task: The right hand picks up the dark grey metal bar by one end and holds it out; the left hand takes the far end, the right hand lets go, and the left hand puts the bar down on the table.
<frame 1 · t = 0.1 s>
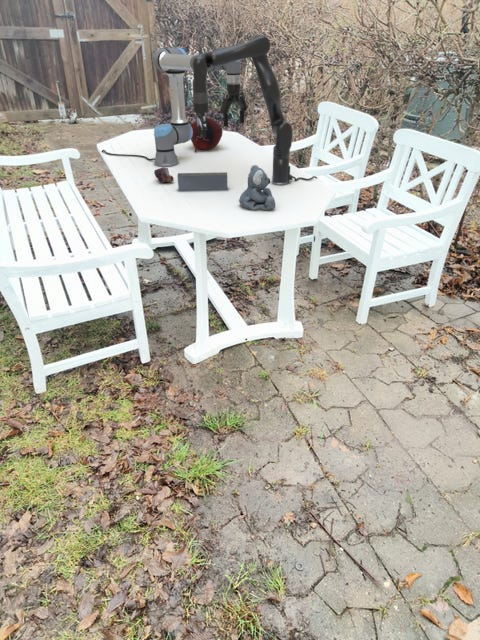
left hand: (234, 124, 259), 28 cm above the table, tool pointing down, fingers open, 13 cm apart
right hand: (202, 135, 233), 29 cm above the table, tool pointing down, fingers open, 8 cm apart
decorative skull: (206, 148, 327), on the table
rock: (164, 182, 263), on the table
koala plush: (256, 206, 229), on the table
bar: (203, 189, 251), on the table
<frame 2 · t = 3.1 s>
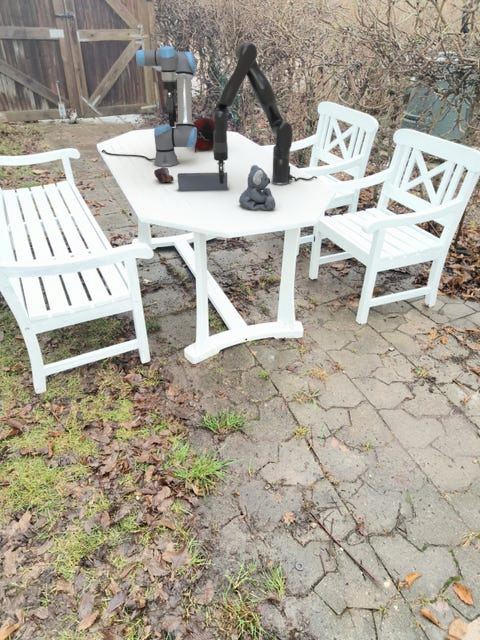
left hand: (173, 124, 248), 31 cm above the table, tool pointing down, fingers open, 13 cm apart
right hand: (221, 182, 249), 4 cm above the table, tool pointing down, fingers closed on bar, 4 cm apart
bar: (203, 189, 251), on the table, touching right hand
everything else where it was.
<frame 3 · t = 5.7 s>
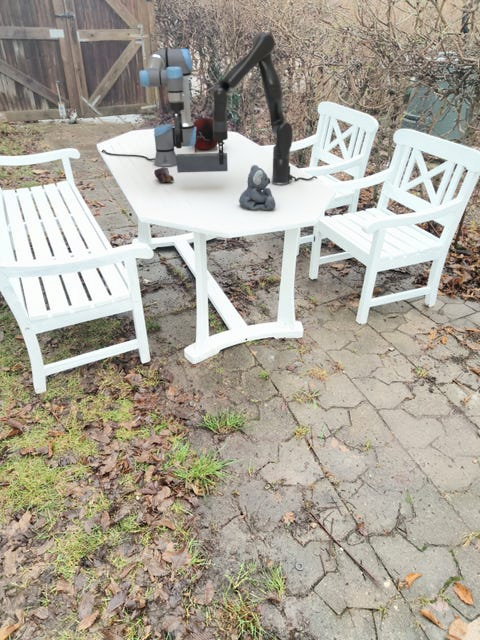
left hand: (179, 145, 240), 23 cm above the table, tool pointing down, fingers open, 13 cm apart
right hand: (221, 162, 244), 14 cm above the table, tool pointing down, fingers closed on bar, 4 cm apart
bar: (202, 170, 246), point 10 cm above the table, touching right hand
everything else where it was.
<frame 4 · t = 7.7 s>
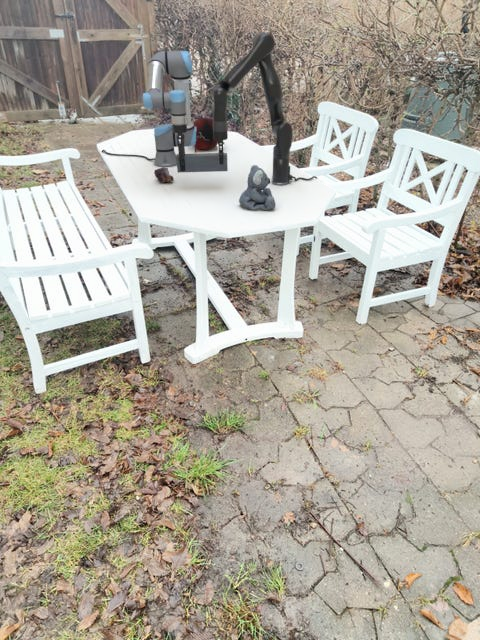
left hand: (183, 169, 245), 11 cm above the table, tool pointing down, fingers closed on bar, 4 cm apart
right hand: (221, 162, 244), 14 cm above the table, tool pointing down, fingers closed on bar, 4 cm apart
bar: (202, 170, 246), point 10 cm above the table, touching left hand, right hand
everything else where it was.
when the right hand's fingers open (14 cm above the table, at t = 8.5 s): bar stays where it is, held by the left hand.
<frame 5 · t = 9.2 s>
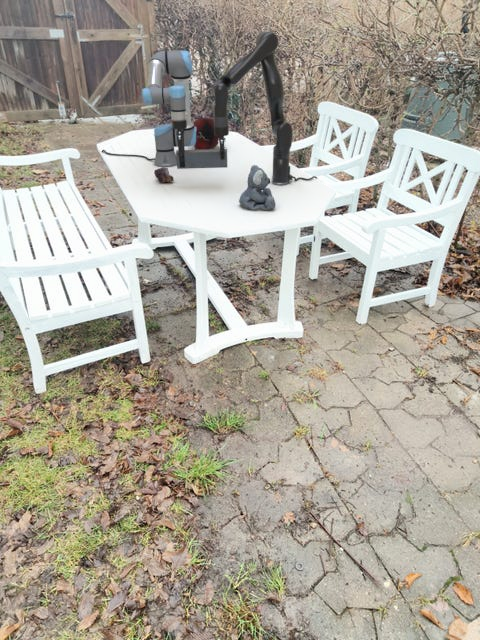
left hand: (182, 165, 244), 13 cm above the table, tool pointing down, fingers closed on bar, 4 cm apart
right hand: (222, 157, 242), 17 cm above the table, tool pointing down, fingers open, 8 cm apart
bar: (202, 166, 245), point 12 cm above the table, touching left hand
everything else where it was.
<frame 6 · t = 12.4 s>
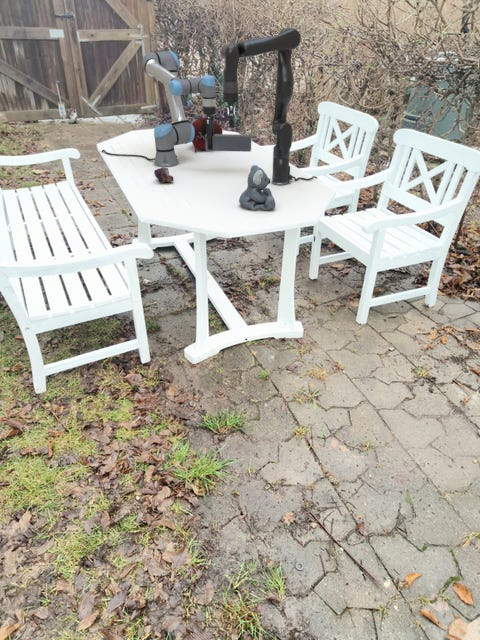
left hand: (211, 148, 271), 14 cm above the table, tool pointing down, fingers closed on bar, 4 cm apart
right hand: (231, 125, 233), 33 cm above the table, tool pointing down, fingers open, 8 cm apart
bar: (228, 150, 271), point 13 cm above the table, touching left hand
everything else where it was.
when the left hand's fingers open (2 cm above the table, at t = 17.2 s): bar drops 1 cm, on the table.
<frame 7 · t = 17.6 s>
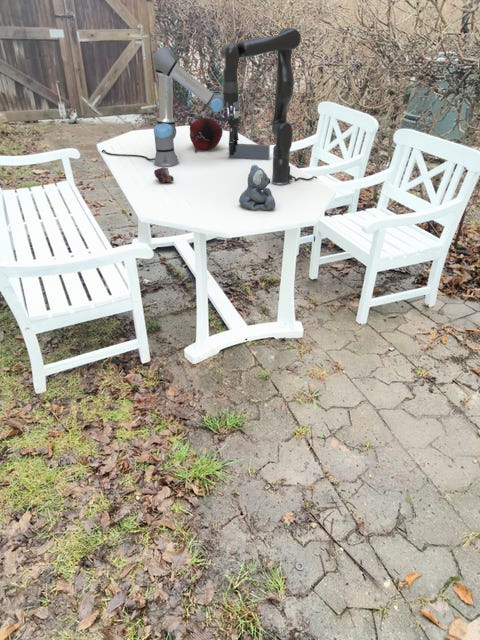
left hand: (233, 152, 304), 3 cm above the table, tool pointing down, fingers open, 10 cm apart
right hand: (231, 125, 233), 33 cm above the table, tool pointing down, fingers open, 8 cm apart
bar: (249, 158, 304), on the table
everything else where it was.
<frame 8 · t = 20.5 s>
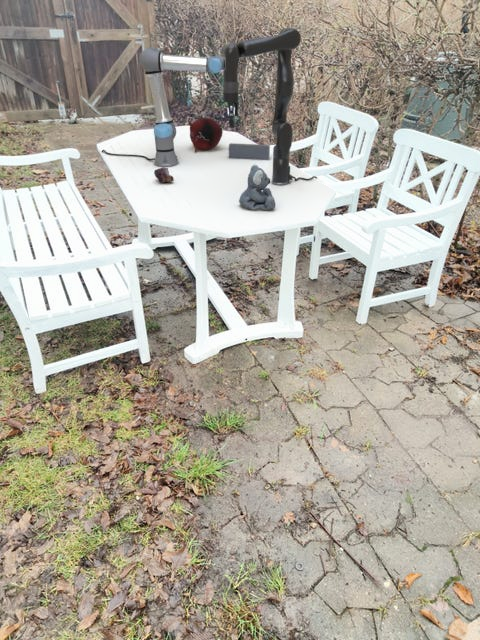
left hand: (233, 117, 292), 25 cm above the table, tool pointing down, fingers open, 13 cm apart
right hand: (231, 125, 233), 33 cm above the table, tool pointing down, fingers open, 8 cm apart
nothing on the table moved.
at the end: bar inside the target area (10.6 cm from its centre), on the table; the left hand is holding nothing; the right hand is holding nothing; bar at rest at the end (0.0 cm/s) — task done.
